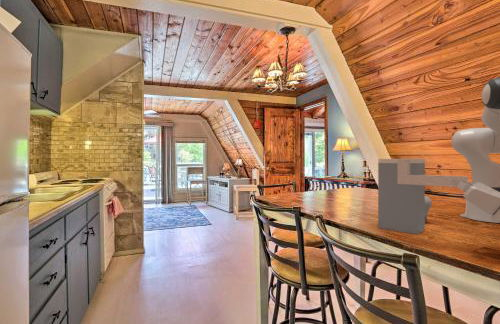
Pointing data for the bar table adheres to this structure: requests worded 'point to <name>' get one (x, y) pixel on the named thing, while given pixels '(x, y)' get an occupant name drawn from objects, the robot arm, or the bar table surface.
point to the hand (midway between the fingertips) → (453, 179)
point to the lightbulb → (427, 206)
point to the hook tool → (424, 177)
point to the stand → (400, 198)
